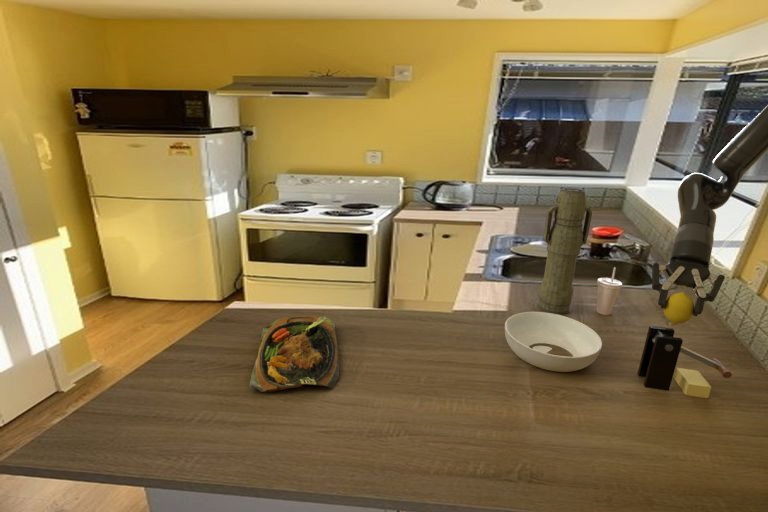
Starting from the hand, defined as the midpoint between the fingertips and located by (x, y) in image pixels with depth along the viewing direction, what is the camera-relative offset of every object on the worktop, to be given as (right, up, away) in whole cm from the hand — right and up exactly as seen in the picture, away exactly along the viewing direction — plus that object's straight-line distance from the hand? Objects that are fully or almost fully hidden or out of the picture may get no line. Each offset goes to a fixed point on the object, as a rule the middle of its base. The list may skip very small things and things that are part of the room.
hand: (679, 310), depth 94 cm
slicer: (-9, -15, -5) cm, 19 cm away
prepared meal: (-85, -11, +3) cm, 86 cm away
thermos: (-16, -3, +31) cm, 35 cm away
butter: (-3, -16, -7) cm, 18 cm away
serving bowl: (-27, -12, +5) cm, 30 cm away
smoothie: (-2, -4, +29) cm, 30 cm away
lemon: (+1, -4, +3) cm, 5 cm away
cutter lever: (-5, -8, -9) cm, 13 cm away
